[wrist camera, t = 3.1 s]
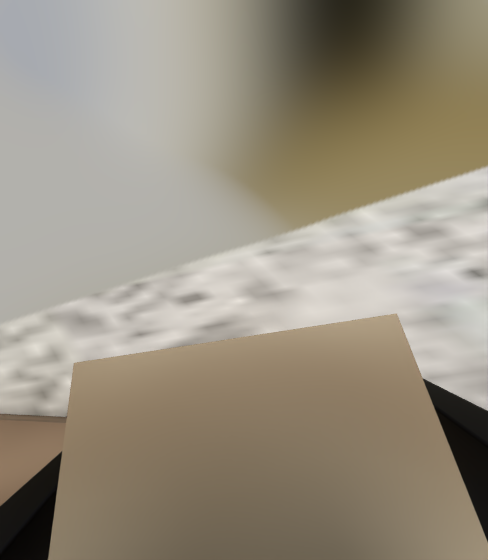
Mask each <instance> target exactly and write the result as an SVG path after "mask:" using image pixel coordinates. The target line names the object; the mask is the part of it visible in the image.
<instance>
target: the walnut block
mask: <svg viewBox="0 0 488 560" xmlns="http://www.w3.org/2000/svg"><path fill="white" fill-rule="evenodd" d="M66 420H67V417H53V416H32V415H11V414H0V506H1V505H2V504H3V503H4V502H5V501H6V500H7V499H9V498H10V497H11V496H12V495H13V494H14V493H15V492H16V491H18V490H19V489H20V488H21V487H22V486H23V485H24V484H25V483H27V482H28V481H29V480H30V479H31V478H32V477H33V476H34V475H36V474H37V473H38V472H39V471H40V470H41V469H42V468H43V467H45V466H46V465H47V464H48V463H49V462H50V461H51V460H52V459H54V458H55V457H56V456H57V455H58V454H59V453H60V452H61V451H62V450H63V442H64V435H65V427H66Z"/></svg>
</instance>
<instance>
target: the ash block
mask: <svg viewBox="0 0 488 560" xmlns="http://www.w3.org/2000/svg"><path fill="white" fill-rule="evenodd" d="M48 560H488V542H487V539H486V537H485V534H484V532H483V529H482V527H481V524H480V522H479V519H478V517H477V514H476V512H475V509H474V507H473V504H472V502H471V499H470V497H469V494H468V492H467V489H466V487H465V484H464V481H463V479H462V476H461V474H460V471H459V469H458V466H457V464H456V461H455V459H454V456H453V454H452V451H451V449H450V446H449V444H448V441H447V439H446V436H445V434H444V431H443V429H442V426H441V424H440V421H439V419H438V416H437V414H436V411H435V409H434V406H433V404H432V401H431V399H430V396H429V394H428V391H427V388H426V386H425V383H424V381H423V378H422V376H421V373H420V371H419V368H418V366H417V363H416V361H415V358H414V356H413V353H412V351H411V348H410V346H409V343H408V341H407V338H406V336H405V333H404V331H403V328H402V326H401V323H400V321H399V318H398V316H397V314H391V315H385V316H378V317H372V318H365V319H358V320H352V321H345V322H339V323H332V324H326V325H319V326H313V327H306V328H300V329H293V330H287V331H280V332H274V333H267V334H260V335H254V336H247V337H241V338H234V339H228V340H221V341H215V342H208V343H202V344H195V345H189V346H182V347H176V348H169V349H162V350H156V351H149V352H143V353H136V354H130V355H123V356H117V357H110V358H104V359H97V360H91V361H84V362H77V363H74V366H73V374H72V382H71V389H70V397H69V404H68V412H67V420H66V427H65V435H64V442H63V450H62V458H61V465H60V473H59V480H58V488H57V496H56V503H55V511H54V518H53V526H52V534H51V541H50V549H49V556H48Z"/></svg>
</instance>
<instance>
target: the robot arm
mask: <svg viewBox="0 0 488 560" xmlns="http://www.w3.org/2000/svg"><path fill="white" fill-rule="evenodd" d="M423 381H424V383H425V386H426V388H427V391H428V394H429V396H430V399H431V401H432V404H433V406H434V409H435V411H436V414H437V416H438V419H439V421H440V424H441V426H442V429H443V431H444V434H445V436H446V439H447V441H448V444H449V446H450V449H451V451H452V454H453V456H454V459H455V461H456V464H457V466H458V469H459V471H460V474H461V476H462V479H463V481H464V484H465V487H466V489H467V492H468V494H469V497H470V499H471V502H472V504H473V507H474V509H475V512H476V514H477V517H478V519H479V522H480V524H481V527H482V529H483V532H484V534H485V537H486V539H487V542H488V411H487V410H485V409H483V408H481V407H479V406H477V405H475V404H473V403H471V402H469V401H467V400H465V399H463V398H461V397H459V396H457V395H455V394H453V393H451V392H449V391H447V390H445V389H443V388H441V387H439V386H437V385H435V384H433V383H431V382H429V381H427V380H425V379H423ZM61 458H62V451H61V452H60V453H59V454H58V455H57V456H56V457H55V458H54V459H52V460H51V461H50V462H49V463H48V464H47V465H46V466H45V467H43V468H42V469H41V470H40V471H39V472H38V473H37V474H36V475H34V476H33V477H32V478H31V479H30V480H29V481H28V482H27V483H25V484H24V485H23V486H22V487H21V488H20V489H19V490H18V491H16V492H15V493H14V494H13V495H12V496H11V497H10V498H9V499H7V500H6V501H5V502H4V503H3V504H2V505H1V506H0V560H48V556H49V549H50V541H51V534H52V526H53V518H54V511H55V503H56V496H57V488H58V480H59V473H60V465H61Z"/></svg>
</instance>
